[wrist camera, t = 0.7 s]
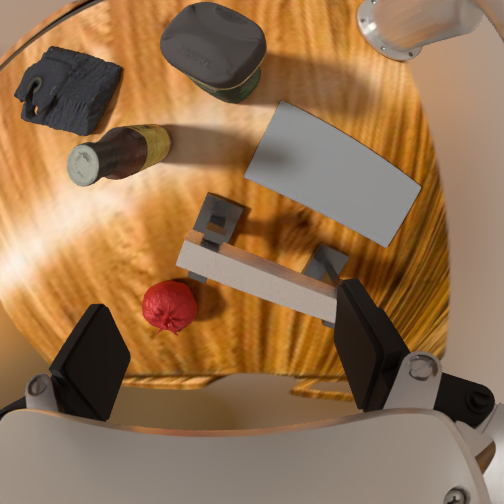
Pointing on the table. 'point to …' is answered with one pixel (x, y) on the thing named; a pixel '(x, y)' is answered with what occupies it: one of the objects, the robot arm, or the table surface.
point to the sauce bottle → (119, 153)
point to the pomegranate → (169, 306)
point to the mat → (332, 174)
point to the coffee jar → (216, 50)
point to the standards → (224, 222)
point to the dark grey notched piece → (67, 90)
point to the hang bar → (258, 276)
